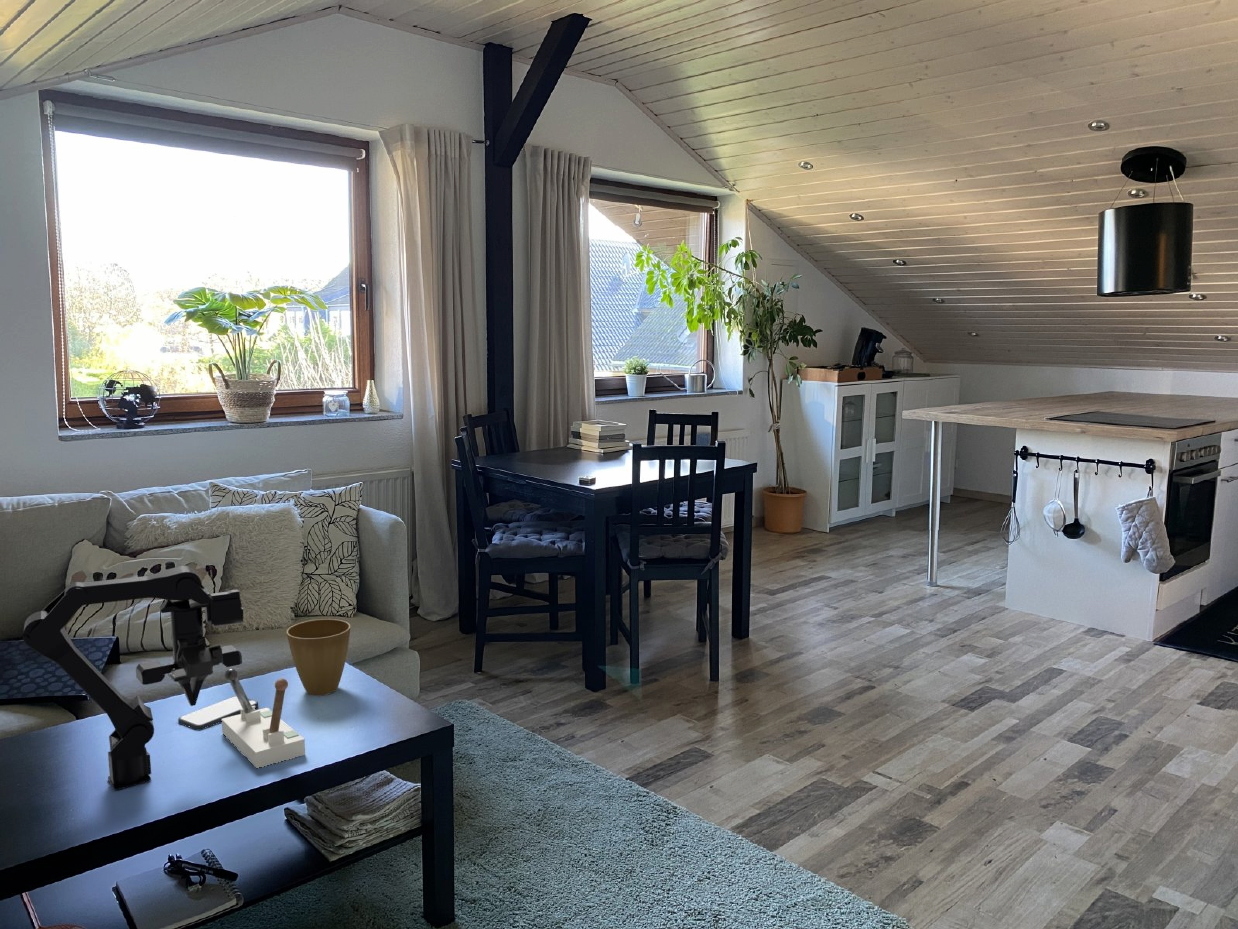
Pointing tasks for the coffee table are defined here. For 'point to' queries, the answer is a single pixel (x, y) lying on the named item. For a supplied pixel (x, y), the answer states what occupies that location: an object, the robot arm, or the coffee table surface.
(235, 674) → the grey lever
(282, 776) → the coffee table surface
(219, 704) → the phone case
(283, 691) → the walnut lever
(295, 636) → the plant pot
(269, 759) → the switch panel
